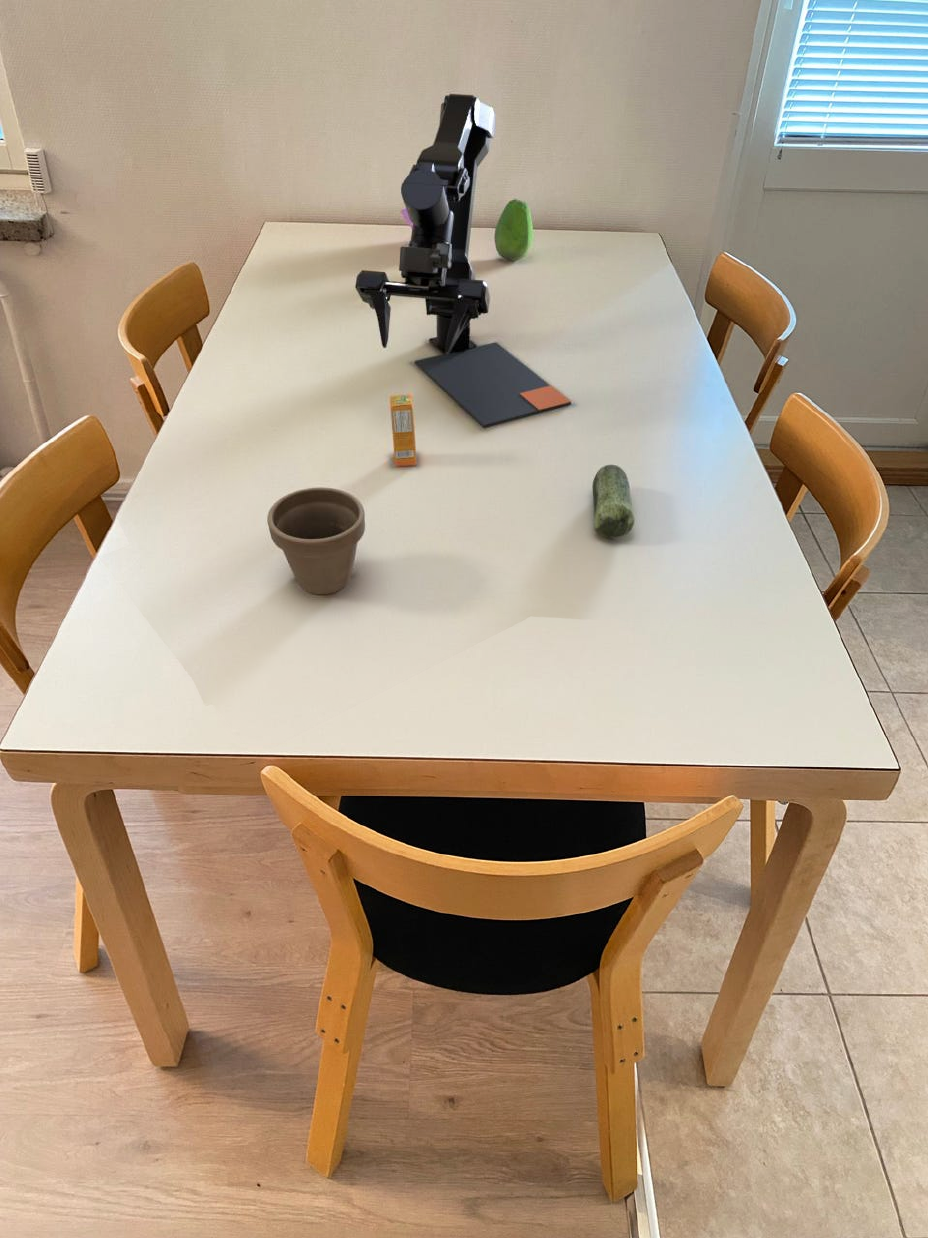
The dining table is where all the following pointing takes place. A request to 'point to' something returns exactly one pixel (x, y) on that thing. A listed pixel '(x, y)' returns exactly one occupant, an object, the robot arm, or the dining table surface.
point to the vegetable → (612, 502)
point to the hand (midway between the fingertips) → (415, 349)
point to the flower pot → (318, 536)
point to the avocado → (514, 231)
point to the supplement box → (403, 430)
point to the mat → (491, 384)
